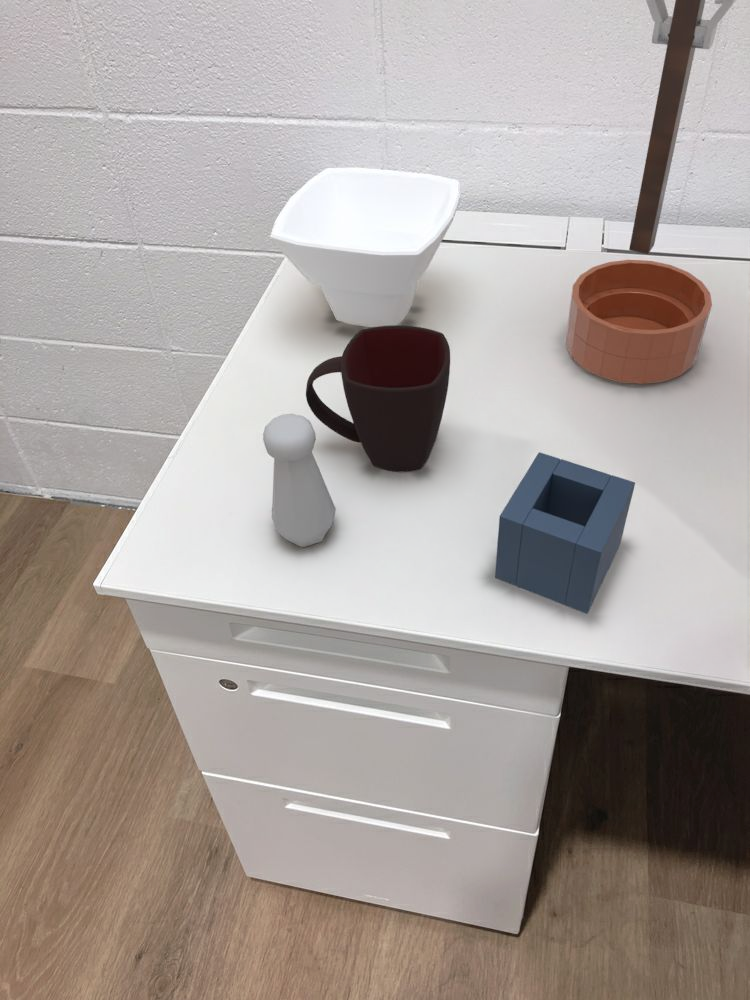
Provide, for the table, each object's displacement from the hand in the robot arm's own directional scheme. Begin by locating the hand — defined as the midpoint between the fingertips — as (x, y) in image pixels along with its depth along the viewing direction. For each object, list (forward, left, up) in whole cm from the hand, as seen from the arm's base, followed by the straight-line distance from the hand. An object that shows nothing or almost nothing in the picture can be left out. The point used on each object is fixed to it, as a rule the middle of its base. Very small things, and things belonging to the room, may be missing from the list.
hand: (682, 44), depth 69 cm
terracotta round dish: (-1, 0, -31) cm, 31 cm away
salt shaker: (+17, +40, -32) cm, 54 cm away
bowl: (+29, +6, -32) cm, 43 cm away
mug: (+16, +27, -32) cm, 45 cm away
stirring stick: (0, 0, -19) cm, 19 cm away
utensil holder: (-5, +33, -31) cm, 46 cm away
